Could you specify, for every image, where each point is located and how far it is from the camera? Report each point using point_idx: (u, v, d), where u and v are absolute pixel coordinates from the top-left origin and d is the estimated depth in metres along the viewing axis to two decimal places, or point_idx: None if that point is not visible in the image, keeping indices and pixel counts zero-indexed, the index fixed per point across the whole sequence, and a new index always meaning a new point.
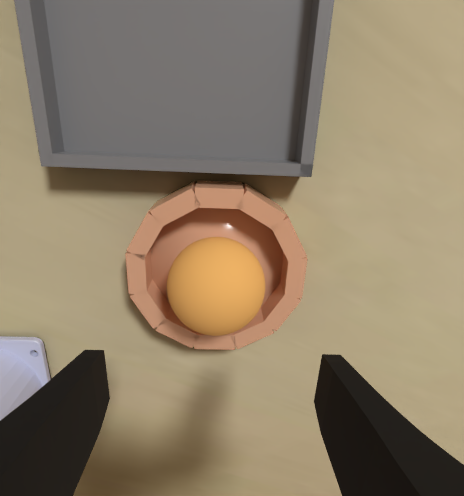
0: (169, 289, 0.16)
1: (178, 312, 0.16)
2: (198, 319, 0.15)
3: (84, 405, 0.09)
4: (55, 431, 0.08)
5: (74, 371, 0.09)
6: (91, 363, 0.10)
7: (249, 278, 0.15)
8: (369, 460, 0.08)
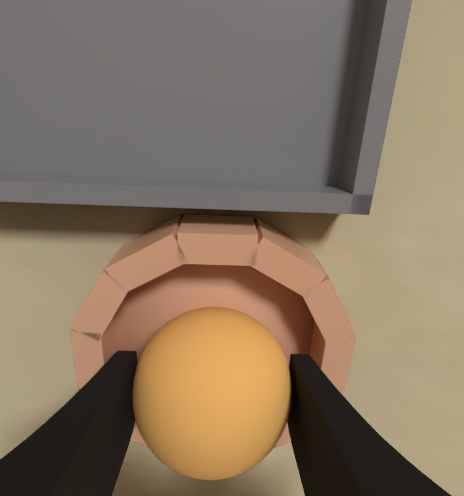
0: (134, 404, 0.09)
1: (148, 446, 0.09)
2: (181, 467, 0.09)
3: (121, 405, 0.09)
4: (99, 431, 0.08)
5: (111, 372, 0.09)
6: (127, 364, 0.10)
7: (269, 394, 0.09)
8: (325, 460, 0.08)
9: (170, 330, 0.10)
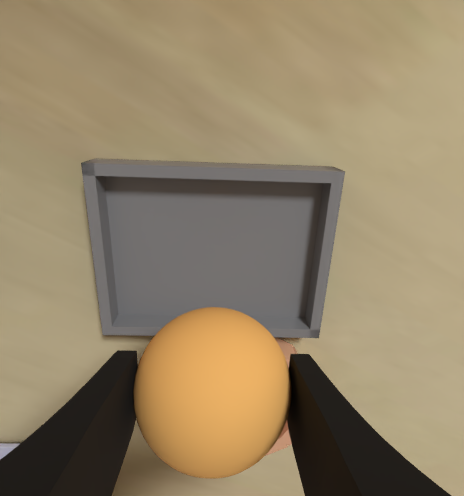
0: (134, 403, 0.10)
1: (148, 443, 0.09)
2: (179, 464, 0.09)
3: (121, 405, 0.09)
4: (99, 431, 0.08)
5: (111, 372, 0.09)
6: (127, 364, 0.10)
7: (265, 394, 0.09)
8: (325, 460, 0.08)
9: (169, 330, 0.10)
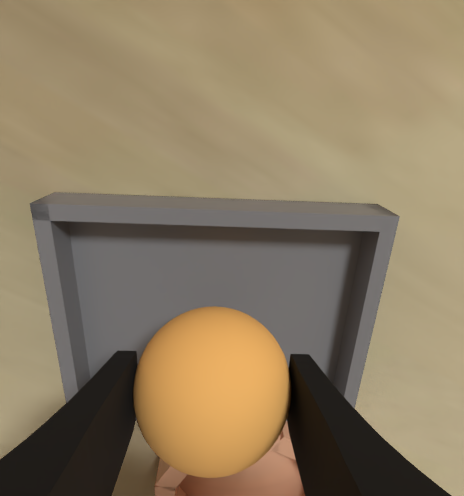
0: (134, 402, 0.10)
1: (148, 443, 0.09)
2: (178, 464, 0.09)
3: (121, 405, 0.09)
4: (99, 431, 0.08)
5: (111, 372, 0.09)
6: (127, 364, 0.10)
7: (265, 393, 0.09)
8: (325, 460, 0.08)
9: (169, 329, 0.10)
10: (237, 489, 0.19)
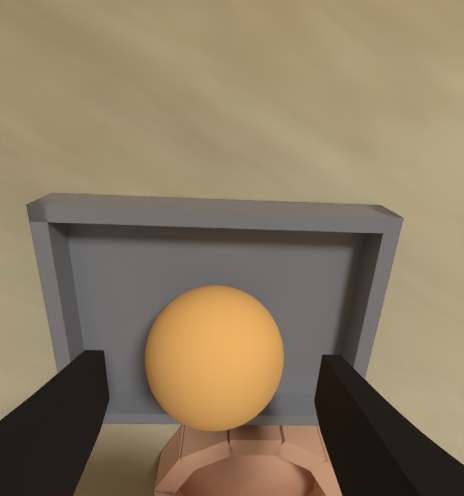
0: (146, 366, 0.11)
1: (158, 401, 0.11)
2: (185, 417, 0.10)
3: (84, 405, 0.09)
4: (55, 431, 0.08)
5: (74, 371, 0.09)
6: (91, 363, 0.10)
7: (260, 355, 0.10)
8: (369, 460, 0.08)
9: (176, 303, 0.11)
10: (237, 493, 0.19)
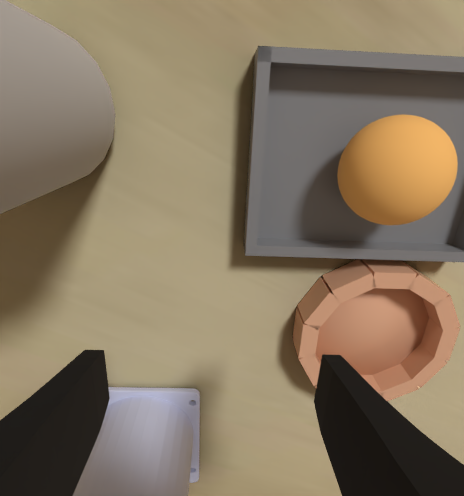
0: (355, 168, 0.14)
1: (369, 191, 0.14)
2: (399, 192, 0.14)
3: (84, 405, 0.09)
4: (55, 431, 0.08)
5: (74, 371, 0.09)
6: (91, 363, 0.10)
7: (452, 147, 0.14)
8: (369, 460, 0.08)
9: (373, 123, 0.15)
10: (357, 345, 0.22)
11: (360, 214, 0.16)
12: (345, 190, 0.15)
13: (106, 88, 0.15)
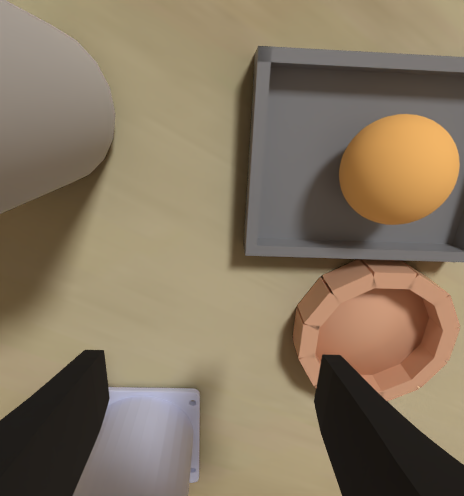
0: (358, 167, 0.14)
1: (372, 190, 0.14)
2: (403, 191, 0.14)
3: (84, 405, 0.09)
4: (55, 431, 0.08)
5: (74, 371, 0.09)
6: (91, 363, 0.10)
7: (455, 146, 0.14)
8: (369, 460, 0.08)
9: (375, 122, 0.15)
10: (357, 345, 0.22)
11: (363, 214, 0.16)
12: (348, 190, 0.15)
13: (106, 88, 0.15)
